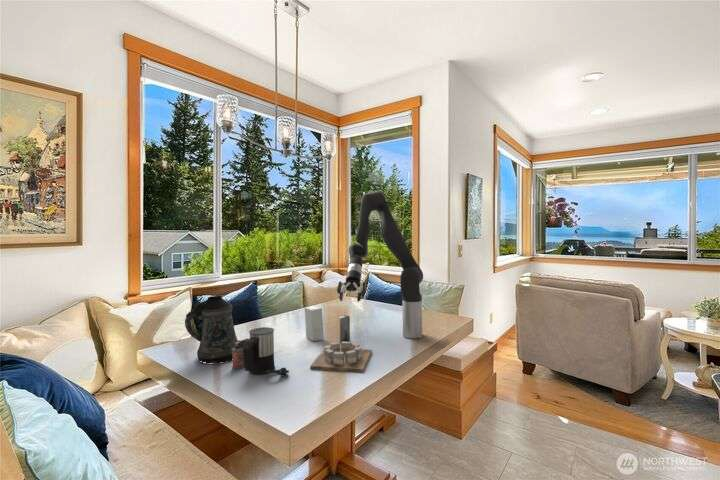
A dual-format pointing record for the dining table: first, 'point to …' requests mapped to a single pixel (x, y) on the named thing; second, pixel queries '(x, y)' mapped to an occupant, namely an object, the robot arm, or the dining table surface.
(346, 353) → the castellated collar
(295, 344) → the dining table surface
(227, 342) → the beer stein
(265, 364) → the milk frother
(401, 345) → the dining table surface
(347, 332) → the metal pin
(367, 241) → the robot arm
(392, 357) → the dining table surface
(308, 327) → the skincare box
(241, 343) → the lighter
